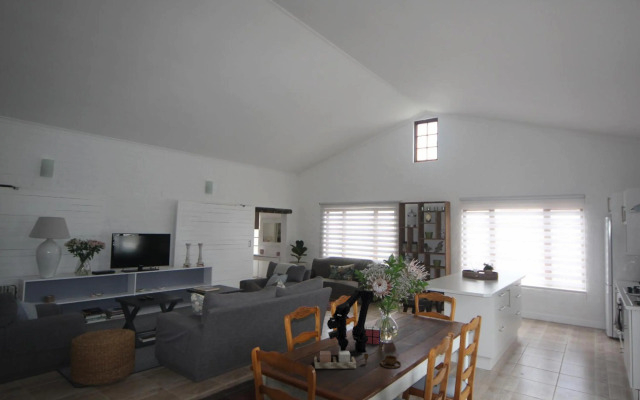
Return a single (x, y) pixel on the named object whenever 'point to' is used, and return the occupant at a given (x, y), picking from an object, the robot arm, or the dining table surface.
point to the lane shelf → (335, 364)
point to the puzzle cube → (373, 335)
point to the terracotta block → (325, 357)
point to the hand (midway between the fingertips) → (341, 351)
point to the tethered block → (344, 356)
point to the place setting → (387, 361)
